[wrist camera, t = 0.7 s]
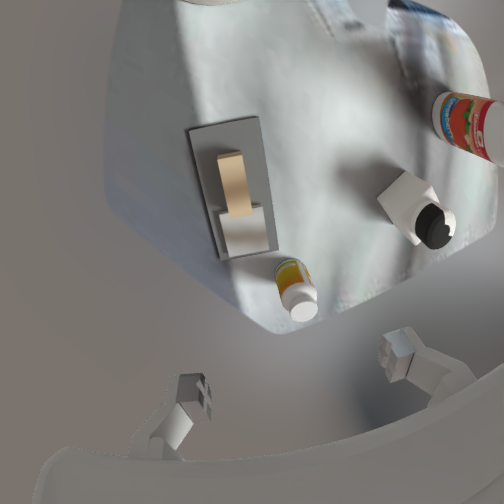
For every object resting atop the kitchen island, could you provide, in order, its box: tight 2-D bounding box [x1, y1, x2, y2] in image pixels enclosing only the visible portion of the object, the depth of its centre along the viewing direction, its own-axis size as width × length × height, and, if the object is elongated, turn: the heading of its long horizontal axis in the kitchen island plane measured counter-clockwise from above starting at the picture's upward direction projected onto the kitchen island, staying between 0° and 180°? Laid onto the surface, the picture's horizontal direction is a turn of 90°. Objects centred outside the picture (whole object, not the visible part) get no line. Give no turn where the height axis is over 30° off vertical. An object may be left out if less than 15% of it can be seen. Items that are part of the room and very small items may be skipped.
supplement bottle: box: [275, 259, 318, 322], centre depth 42 cm, size 5×5×10 cm
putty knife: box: [217, 151, 269, 257], centre depth 37 cm, size 15×6×3 cm, turn 9°
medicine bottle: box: [377, 171, 456, 249], centre depth 35 cm, size 7×7×12 cm
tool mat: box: [189, 117, 279, 261], centre depth 38 cm, size 20×9×1 cm, turn 9°
